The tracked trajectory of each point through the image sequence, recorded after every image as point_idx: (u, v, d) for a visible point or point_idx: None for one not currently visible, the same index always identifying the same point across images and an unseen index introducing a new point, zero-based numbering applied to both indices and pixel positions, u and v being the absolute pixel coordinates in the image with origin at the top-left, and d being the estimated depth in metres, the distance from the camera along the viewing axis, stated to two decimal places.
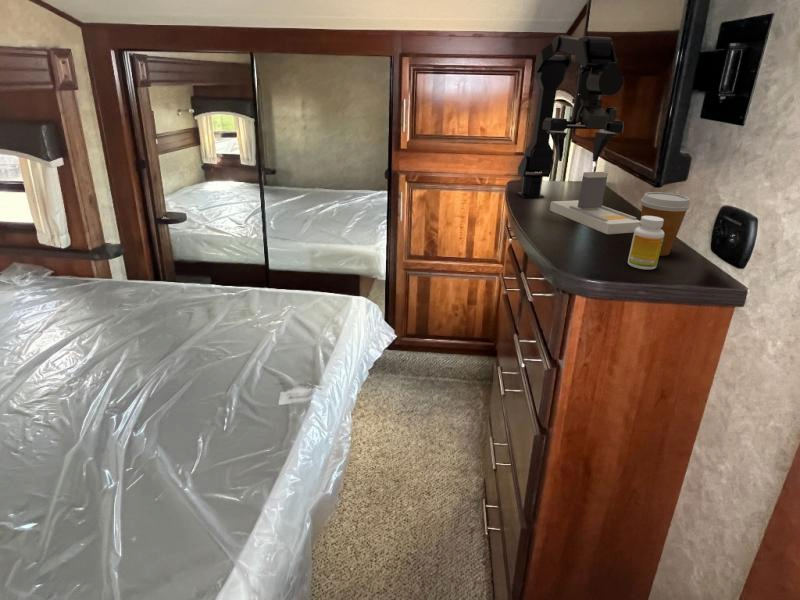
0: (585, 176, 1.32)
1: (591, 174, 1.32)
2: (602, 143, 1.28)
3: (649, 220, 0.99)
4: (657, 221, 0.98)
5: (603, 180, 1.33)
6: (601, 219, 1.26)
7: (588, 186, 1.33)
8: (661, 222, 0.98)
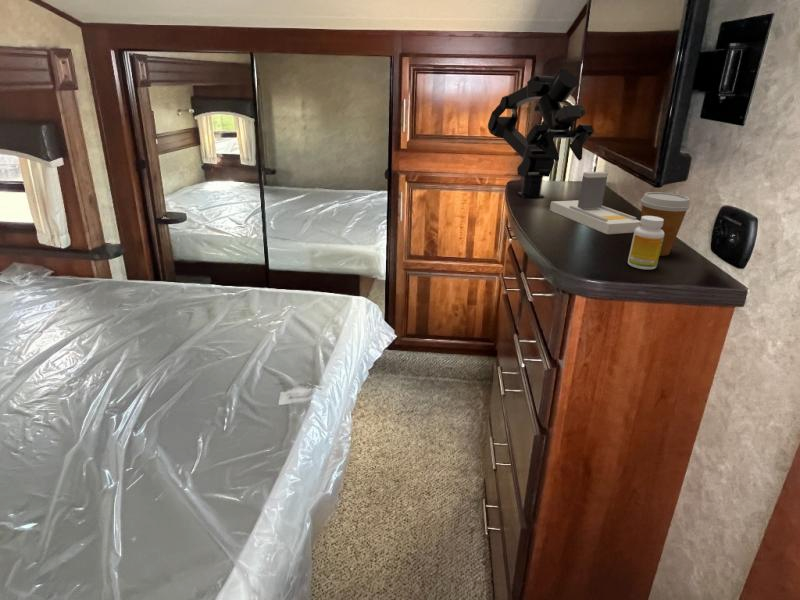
0: (585, 176, 1.32)
1: (591, 174, 1.32)
2: (580, 142, 1.44)
3: (649, 220, 0.99)
4: (657, 221, 0.98)
5: (603, 180, 1.33)
6: (601, 219, 1.26)
7: (588, 186, 1.33)
8: (661, 222, 0.98)
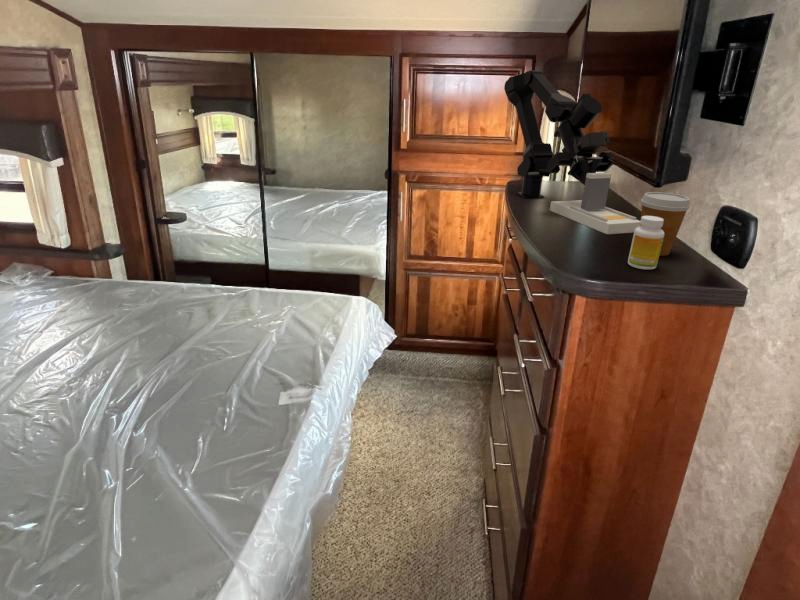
0: (588, 177, 1.31)
1: (594, 175, 1.30)
2: (592, 171, 1.35)
3: (649, 220, 0.99)
4: (657, 221, 0.98)
5: (606, 181, 1.32)
6: (601, 219, 1.26)
7: (592, 187, 1.31)
8: (661, 222, 0.98)
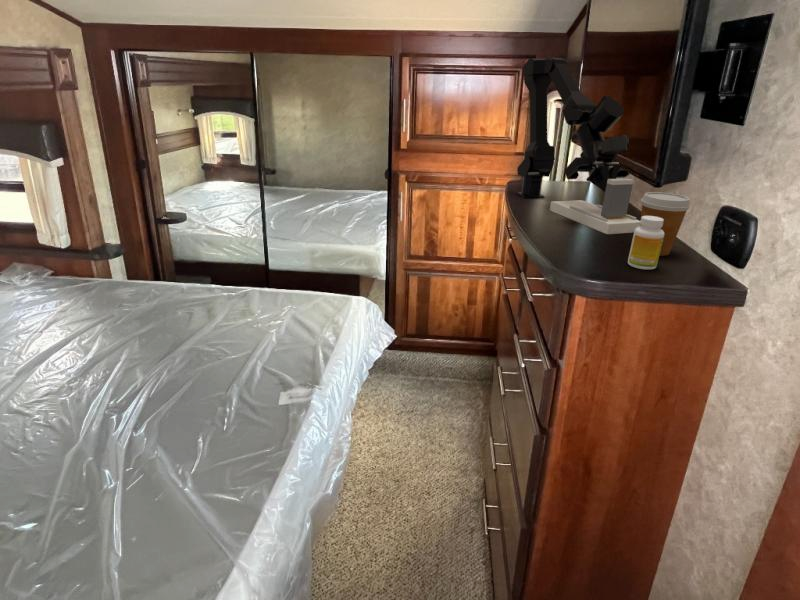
0: (609, 183, 1.24)
1: (616, 181, 1.24)
2: (613, 177, 1.28)
3: (649, 220, 0.99)
4: (657, 221, 0.98)
5: (628, 187, 1.25)
6: (601, 219, 1.26)
7: (613, 193, 1.25)
8: (661, 222, 0.98)
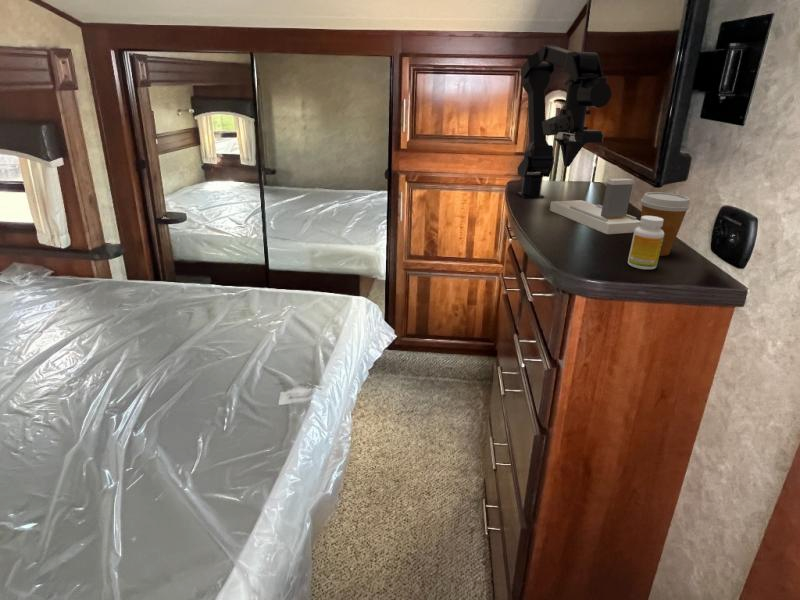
0: (609, 183, 1.24)
1: (616, 181, 1.24)
2: (566, 149, 1.38)
3: (649, 220, 0.99)
4: (657, 221, 0.98)
5: (628, 187, 1.25)
6: (601, 219, 1.26)
7: (613, 193, 1.25)
8: (661, 222, 0.98)
